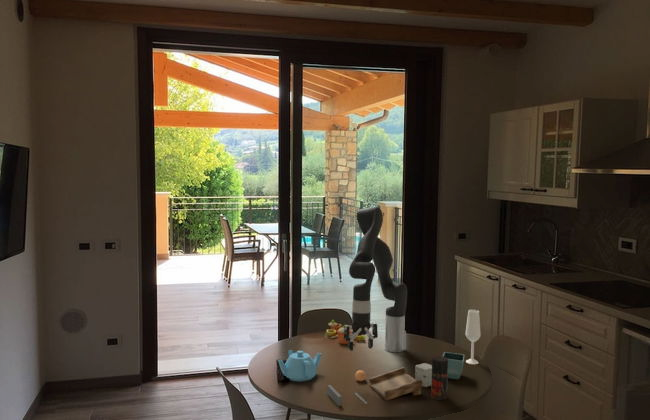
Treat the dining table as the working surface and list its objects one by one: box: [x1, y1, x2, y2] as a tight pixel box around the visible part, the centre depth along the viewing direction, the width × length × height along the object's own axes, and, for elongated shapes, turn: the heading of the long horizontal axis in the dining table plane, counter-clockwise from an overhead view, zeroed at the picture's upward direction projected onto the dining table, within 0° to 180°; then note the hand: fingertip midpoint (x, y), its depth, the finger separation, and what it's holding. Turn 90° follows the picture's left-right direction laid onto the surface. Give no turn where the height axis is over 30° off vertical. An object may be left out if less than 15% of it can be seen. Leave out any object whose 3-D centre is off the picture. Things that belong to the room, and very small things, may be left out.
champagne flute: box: [464, 309, 482, 365], centre depth 231 cm, size 7×7×24 cm
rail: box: [326, 384, 343, 407], centre depth 190 cm, size 1×11×4 cm, turn 21°
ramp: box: [368, 366, 423, 401], centre depth 200 cm, size 16×14×6 cm
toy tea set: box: [324, 319, 366, 345], centre depth 265 cm, size 26×16×10 cm, turn 37°
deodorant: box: [430, 355, 448, 401], centre depth 194 cm, size 6×6×15 cm
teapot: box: [277, 349, 322, 382], centre depth 212 cm, size 15×15×11 cm
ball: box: [354, 369, 367, 382], centre depth 208 cm, size 4×4×4 cm
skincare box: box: [414, 362, 432, 388], centre depth 207 cm, size 6×6×7 cm
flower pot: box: [442, 351, 465, 380], centre depth 214 cm, size 9×9×9 cm
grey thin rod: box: [353, 392, 369, 405], centre depth 194 cm, size 1×15×1 cm, turn 22°
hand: (360, 349), depth 208 cm, fingers open, 8 cm apart
